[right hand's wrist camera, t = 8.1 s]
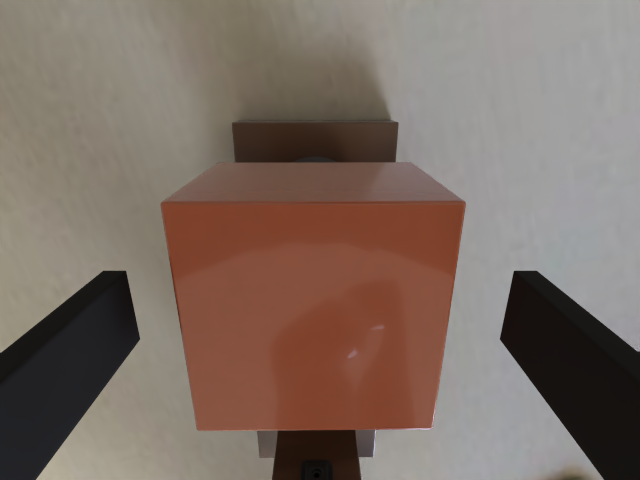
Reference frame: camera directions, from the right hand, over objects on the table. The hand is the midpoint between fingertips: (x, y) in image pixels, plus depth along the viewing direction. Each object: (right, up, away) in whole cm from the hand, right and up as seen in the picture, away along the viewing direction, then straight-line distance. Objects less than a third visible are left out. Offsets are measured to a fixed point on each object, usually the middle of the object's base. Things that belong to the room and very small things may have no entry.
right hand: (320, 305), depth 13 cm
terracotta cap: (0, +2, +4) cm, 4 cm away
